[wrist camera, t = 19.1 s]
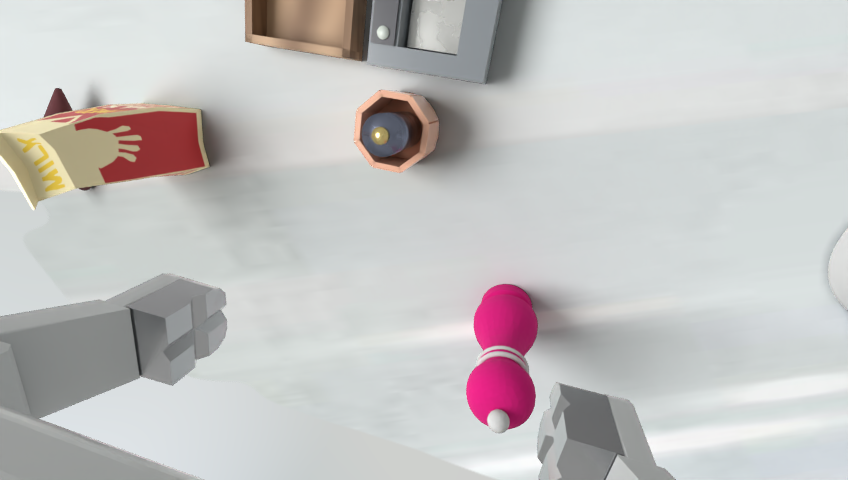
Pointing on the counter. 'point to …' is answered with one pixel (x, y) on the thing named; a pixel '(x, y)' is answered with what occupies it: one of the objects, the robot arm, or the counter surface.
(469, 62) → the grey rectangular frame box
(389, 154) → the cell
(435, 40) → the plate
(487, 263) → the counter surface
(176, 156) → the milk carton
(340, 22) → the trough
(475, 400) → the pepper mill
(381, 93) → the cup
